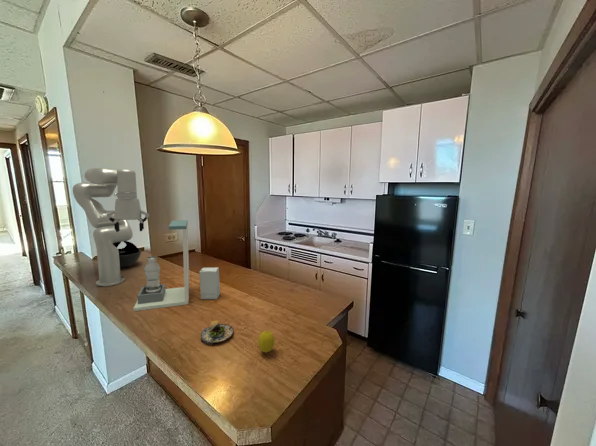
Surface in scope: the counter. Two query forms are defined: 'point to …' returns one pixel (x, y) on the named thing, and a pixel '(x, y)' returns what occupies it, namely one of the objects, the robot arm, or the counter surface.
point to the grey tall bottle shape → (152, 275)
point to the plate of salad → (216, 333)
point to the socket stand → (166, 295)
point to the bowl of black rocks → (128, 254)
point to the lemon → (266, 341)
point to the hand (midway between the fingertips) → (129, 231)
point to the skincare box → (209, 283)
